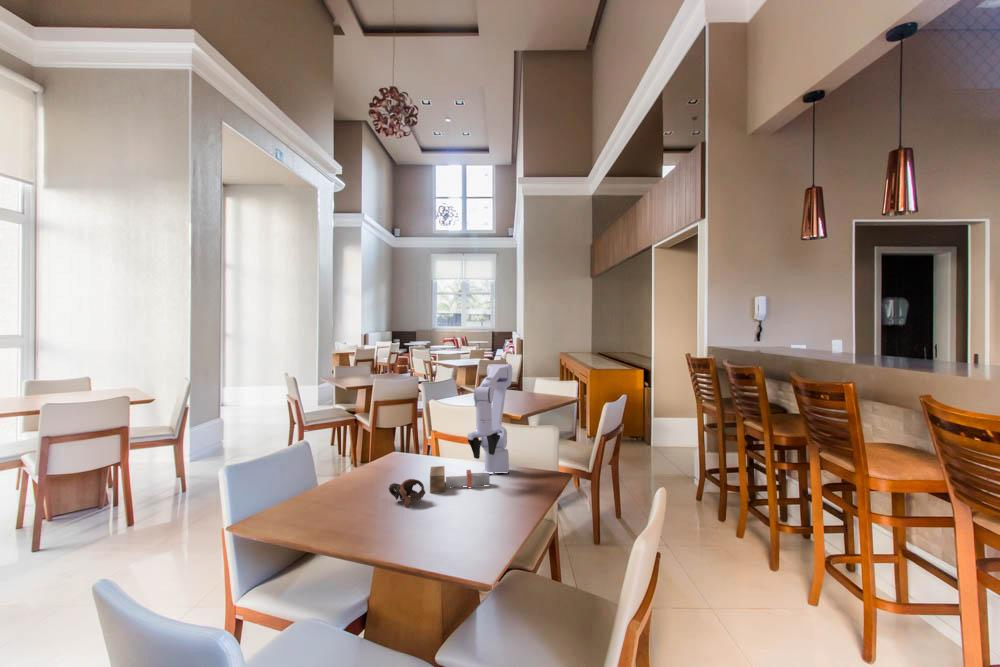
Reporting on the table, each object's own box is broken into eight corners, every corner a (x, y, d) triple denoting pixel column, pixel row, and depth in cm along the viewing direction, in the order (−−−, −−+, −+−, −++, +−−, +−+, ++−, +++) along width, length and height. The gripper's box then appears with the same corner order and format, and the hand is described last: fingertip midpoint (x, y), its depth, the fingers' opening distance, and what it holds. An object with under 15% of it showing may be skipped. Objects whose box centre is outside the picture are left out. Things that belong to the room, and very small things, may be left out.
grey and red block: (488, 482, 174) (488, 469, 174) (490, 487, 169) (489, 473, 169) (445, 484, 172) (445, 470, 172) (446, 489, 167) (445, 475, 167)
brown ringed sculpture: (425, 497, 161) (429, 479, 157) (418, 519, 152) (422, 500, 149) (390, 488, 160) (393, 470, 157) (381, 510, 152) (385, 491, 148)
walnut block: (444, 481, 176) (444, 466, 176) (444, 492, 164) (444, 475, 164) (430, 482, 175) (430, 466, 175) (430, 493, 163) (429, 476, 163)
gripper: (490, 415, 183) (490, 451, 183) (461, 420, 172) (462, 458, 172) (503, 417, 178) (503, 454, 178) (475, 422, 167) (475, 461, 167)
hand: (484, 456), depth 175 cm, fingers open, 7 cm apart
